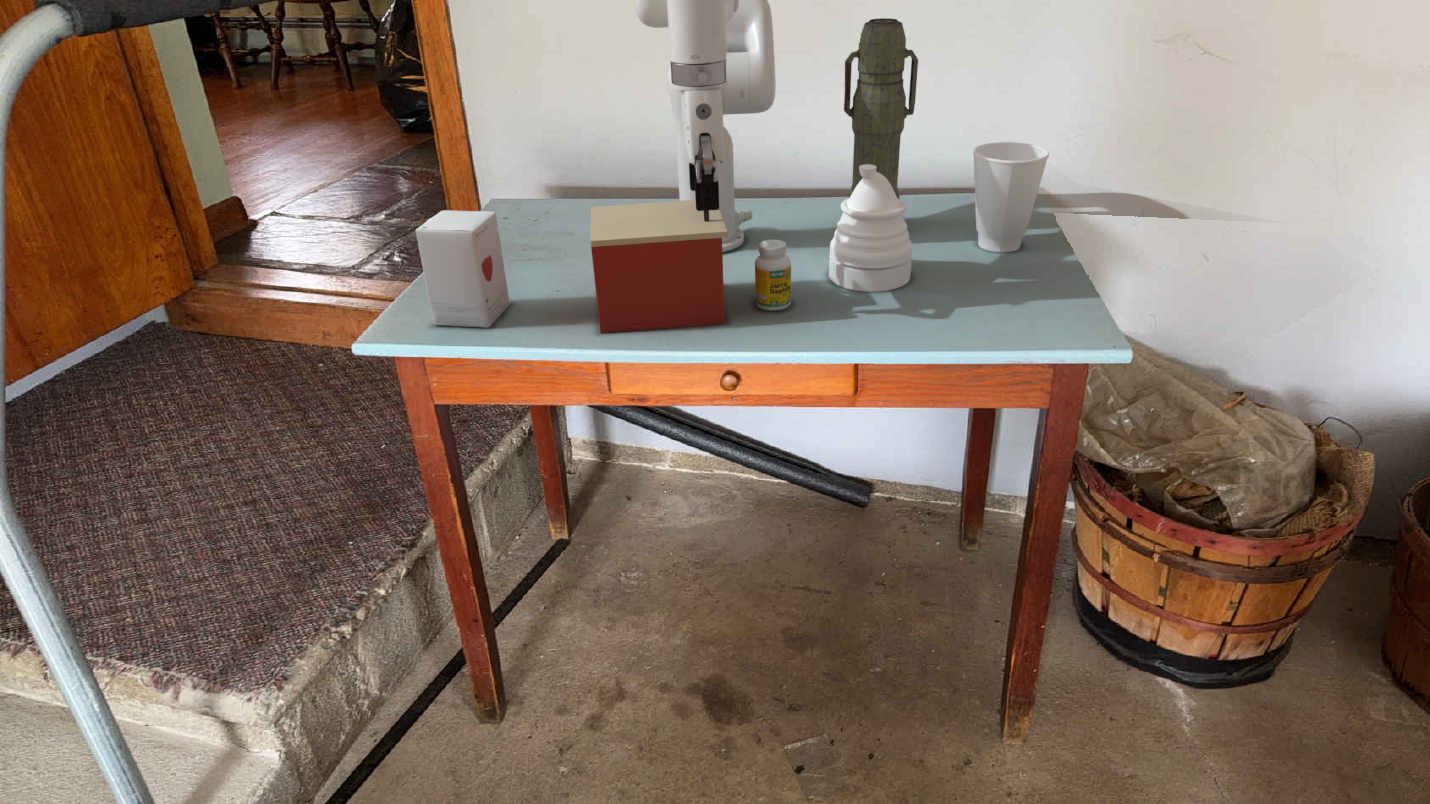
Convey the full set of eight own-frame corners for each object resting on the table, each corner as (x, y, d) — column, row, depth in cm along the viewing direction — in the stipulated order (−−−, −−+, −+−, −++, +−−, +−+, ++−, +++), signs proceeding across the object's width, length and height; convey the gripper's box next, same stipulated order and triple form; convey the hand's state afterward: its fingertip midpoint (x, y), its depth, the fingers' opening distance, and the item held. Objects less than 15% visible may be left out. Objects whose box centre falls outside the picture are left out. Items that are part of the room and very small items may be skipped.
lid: (715, 204, 141) (714, 168, 138) (727, 237, 128) (726, 199, 125) (591, 212, 139) (588, 177, 136) (591, 247, 126) (587, 208, 123)
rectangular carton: (489, 329, 135) (472, 231, 128) (432, 326, 137) (412, 229, 129) (512, 304, 143) (497, 210, 135) (457, 301, 144) (440, 208, 137)
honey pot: (880, 298, 140) (887, 181, 131) (812, 278, 148) (815, 166, 139) (925, 273, 148) (935, 161, 139) (859, 255, 156) (864, 148, 147)
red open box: (713, 284, 147) (710, 204, 140) (724, 323, 134) (722, 238, 128) (600, 292, 146) (592, 212, 139) (600, 333, 133) (591, 247, 126)
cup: (1033, 234, 161) (1046, 142, 153) (1037, 259, 151) (1052, 162, 143) (963, 231, 164) (972, 140, 156) (963, 255, 154) (973, 160, 146)
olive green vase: (835, 220, 171) (842, 18, 154) (899, 218, 171) (913, 15, 154) (843, 237, 163) (851, 25, 146) (909, 234, 164) (925, 22, 146)
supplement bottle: (776, 294, 143) (776, 235, 138) (798, 305, 139) (798, 244, 134) (748, 303, 140) (747, 243, 135) (769, 314, 136) (768, 253, 131)
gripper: (735, 84, 116) (738, 216, 125) (719, 62, 131) (723, 181, 140) (675, 88, 116) (682, 220, 124) (667, 65, 131) (673, 184, 139)
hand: (704, 199), depth 132 cm, fingers open, 9 cm apart
